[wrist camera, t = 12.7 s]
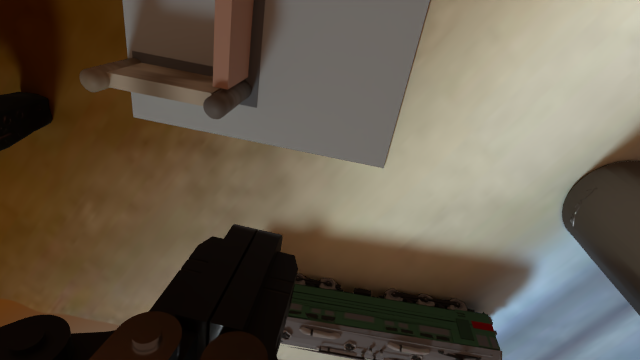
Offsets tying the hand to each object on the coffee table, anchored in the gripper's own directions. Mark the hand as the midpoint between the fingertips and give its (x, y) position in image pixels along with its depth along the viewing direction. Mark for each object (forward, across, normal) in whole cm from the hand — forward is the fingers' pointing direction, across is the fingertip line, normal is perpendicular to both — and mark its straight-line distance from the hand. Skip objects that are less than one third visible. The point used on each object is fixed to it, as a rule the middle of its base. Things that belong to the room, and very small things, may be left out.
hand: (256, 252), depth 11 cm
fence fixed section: (+23, +14, +1) cm, 27 cm away
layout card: (+23, +7, -4) cm, 25 cm away
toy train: (+24, -8, +24) cm, 35 cm away
